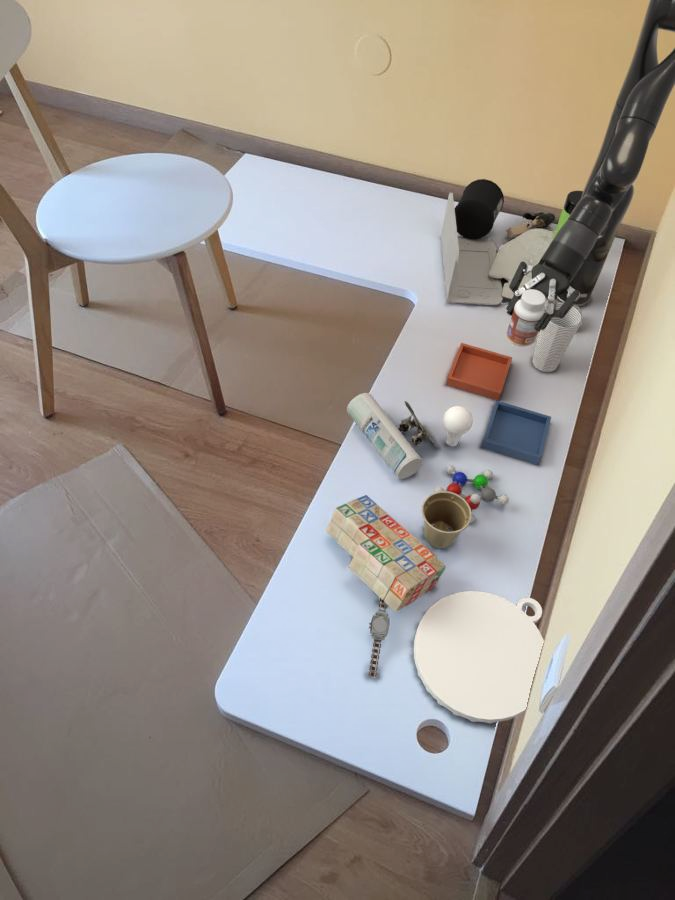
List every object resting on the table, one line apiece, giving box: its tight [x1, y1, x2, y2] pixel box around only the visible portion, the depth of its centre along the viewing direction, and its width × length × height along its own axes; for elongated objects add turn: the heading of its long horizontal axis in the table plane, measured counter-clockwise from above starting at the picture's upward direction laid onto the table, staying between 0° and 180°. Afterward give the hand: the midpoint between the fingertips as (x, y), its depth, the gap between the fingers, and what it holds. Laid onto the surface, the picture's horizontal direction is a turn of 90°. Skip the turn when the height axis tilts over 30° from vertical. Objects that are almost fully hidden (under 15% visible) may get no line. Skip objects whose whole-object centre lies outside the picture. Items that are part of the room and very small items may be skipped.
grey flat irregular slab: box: [489, 228, 555, 300], centre depth 197 cm, size 18×5×30 cm
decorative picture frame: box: [397, 400, 439, 450], centre depth 158 cm, size 12×6×11 cm
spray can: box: [346, 392, 423, 480], centre depth 157 cm, size 6×6×20 cm
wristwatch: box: [368, 597, 391, 678], centre depth 132 cm, size 4×14×5 cm, turn 170°
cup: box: [532, 301, 583, 373], centre depth 172 cm, size 8×8×16 cm
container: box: [454, 178, 505, 239], centre depth 206 cm, size 12×12×18 cm
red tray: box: [445, 342, 513, 401], centre depth 173 cm, size 13×13×2 cm
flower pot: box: [421, 491, 473, 549], centre depth 143 cm, size 9×9×9 cm
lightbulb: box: [442, 405, 474, 447], centre depth 157 cm, size 6×6×11 cm
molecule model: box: [433, 464, 510, 524], centre depth 151 cm, size 15×7×14 cm
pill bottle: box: [506, 289, 546, 348], centre depth 151 cm, size 6×6×11 cm
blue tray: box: [480, 400, 552, 466], centre depth 162 cm, size 13×13×2 cm
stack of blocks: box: [325, 494, 447, 613], centre depth 137 cm, size 21×6×12 cm
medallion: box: [413, 590, 545, 725], centre depth 131 cm, size 24×27×2 cm
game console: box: [440, 192, 504, 306], centre depth 192 cm, size 28×15×15 cm, turn 178°
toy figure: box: [505, 211, 556, 239], centre depth 208 cm, size 7×6×15 cm
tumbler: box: [554, 190, 584, 237], centre depth 198 cm, size 8×8×17 cm
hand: (523, 322), depth 151 cm, fingers closed on pill bottle, 6 cm apart
